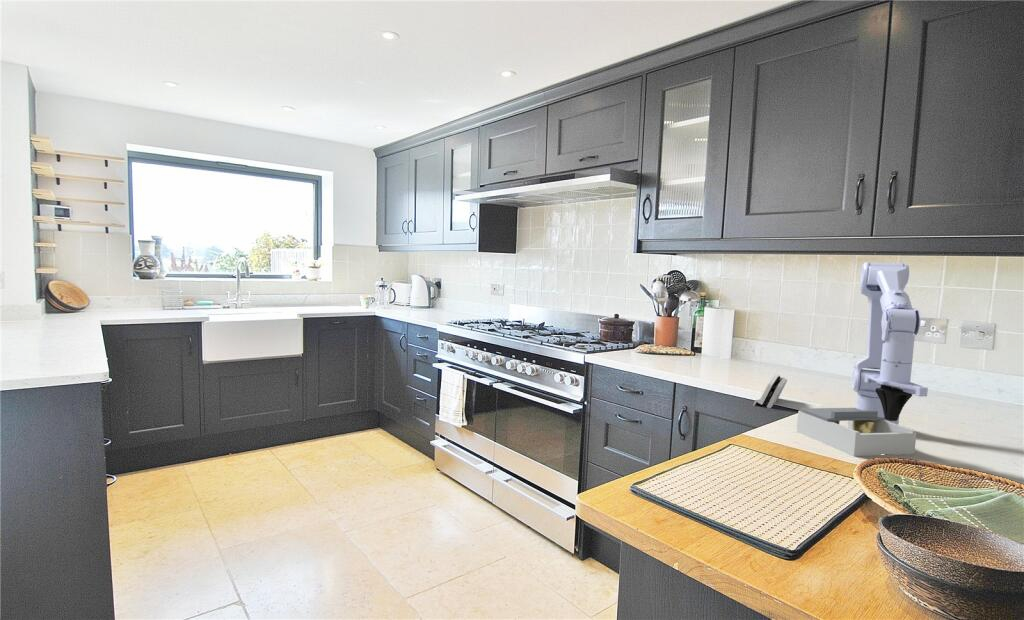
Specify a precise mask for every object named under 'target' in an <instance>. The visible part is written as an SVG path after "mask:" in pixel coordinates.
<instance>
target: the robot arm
mask: <svg viewBox="0 0 1024 620" xmlns="http://www.w3.org/2000/svg"><path fill="white" fill-rule="evenodd" d="M909 277H910V267H909V265H908V263H907V262H902V263H899V262H898V263H897V262H868V261H865V262H864V263H863V264H862V265H861V270H860V286H859V290H860V294H861V295H864V296H865V297H867V300H868V321H867V322H868V323H867V324H868V325H867V340H866V341H867V343H866V345H867V346H866V357H864V358H862V359H860V360H858V361H857V362H856V363H854V365H853V372H852V377H851V387H852V390H853V391H854V392H855V393H857V397H856V407H855V408H857V409H860V410H875V411H878V415H879V416H882V417H885V421H888V422H891V423H894V424H897V425H900V424H899V422H900V421H899V420H900V415H901V413H902V410H903V408H904V407H905V405H906V404H907V402H908V401H909V400H910V399H911V398H912V396H913V395H915V396H916V397H927V396H928V391H929V389H928V387H926V386H922V385H920V384H917V383H914V382H911V381H912V380H911V379H912V369H913V368H912V367H913V358H914V350H915V349H914V348H915V338H916V336H917V335H918V333H919V331H920V326H921V313H920V310H919V309H918V308H915V307H913V306H912V302H911V299H910V296H909V294H908V293H907V292H905V291H904V290H905V289H906V286H907V284H908V282H909ZM846 424H847V425H848V421H847V422H846Z"/></svg>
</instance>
